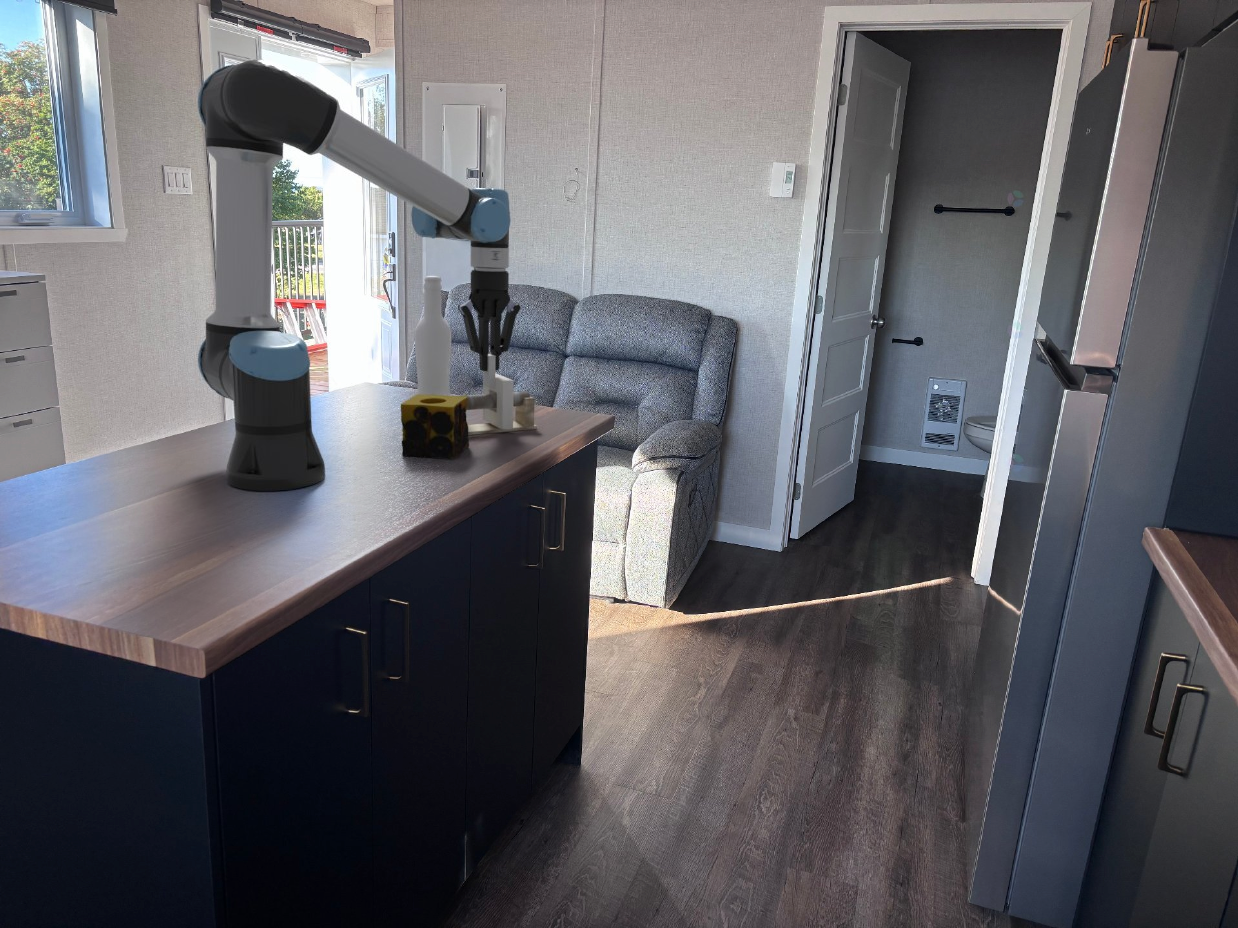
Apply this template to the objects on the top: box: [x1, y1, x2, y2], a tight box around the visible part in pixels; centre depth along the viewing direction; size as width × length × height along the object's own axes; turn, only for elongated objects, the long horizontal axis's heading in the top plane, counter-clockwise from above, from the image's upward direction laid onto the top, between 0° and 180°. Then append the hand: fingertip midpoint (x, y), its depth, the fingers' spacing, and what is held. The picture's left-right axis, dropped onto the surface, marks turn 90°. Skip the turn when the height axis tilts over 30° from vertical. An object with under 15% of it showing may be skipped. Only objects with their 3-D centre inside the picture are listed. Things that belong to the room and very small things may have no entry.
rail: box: [463, 390, 538, 436], centre depth 190 cm, size 19×6×8 cm, turn 121°
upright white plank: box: [482, 372, 515, 430], centre depth 190 cm, size 2×10×10 cm, turn 31°
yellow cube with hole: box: [400, 393, 470, 460], centre depth 171 cm, size 10×10×10 cm
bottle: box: [413, 275, 452, 396], centre depth 199 cm, size 8×8×30 cm
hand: (489, 386), depth 189 cm, fingers closed
